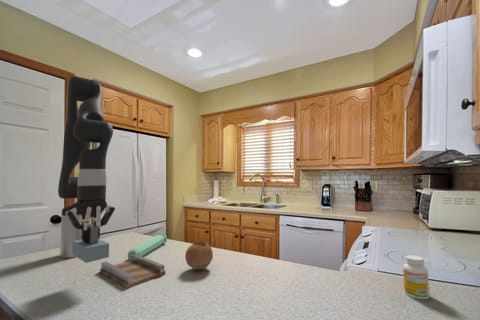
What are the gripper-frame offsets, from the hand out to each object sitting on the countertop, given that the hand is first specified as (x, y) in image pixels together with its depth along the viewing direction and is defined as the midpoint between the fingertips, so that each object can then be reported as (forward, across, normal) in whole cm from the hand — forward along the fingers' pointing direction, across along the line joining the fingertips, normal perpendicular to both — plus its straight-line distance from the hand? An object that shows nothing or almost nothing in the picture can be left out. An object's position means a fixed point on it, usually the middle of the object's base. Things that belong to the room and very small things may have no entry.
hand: (90, 241), depth 73 cm
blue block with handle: (+4, 0, 0) cm, 4 cm away
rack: (+13, -13, 0) cm, 19 cm away
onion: (+13, -29, +16) cm, 36 cm away
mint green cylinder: (+14, -29, -18) cm, 37 cm away
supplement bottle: (+13, -53, +76) cm, 94 cm away
